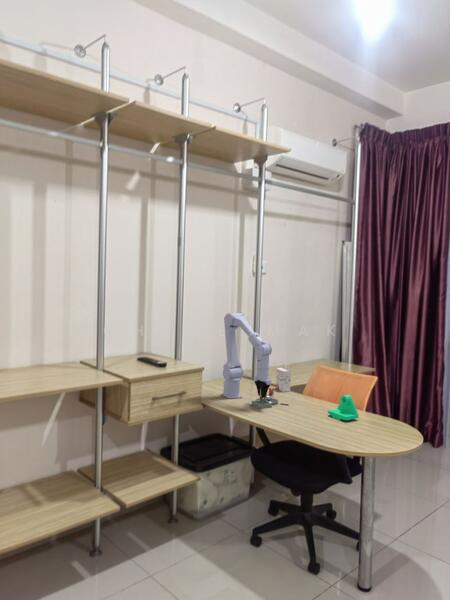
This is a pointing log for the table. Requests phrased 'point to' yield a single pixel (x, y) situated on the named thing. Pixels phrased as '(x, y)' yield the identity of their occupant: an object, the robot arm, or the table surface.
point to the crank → (270, 394)
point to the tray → (258, 405)
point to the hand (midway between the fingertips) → (262, 396)
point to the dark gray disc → (270, 401)
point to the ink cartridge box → (283, 378)
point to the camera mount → (345, 409)
